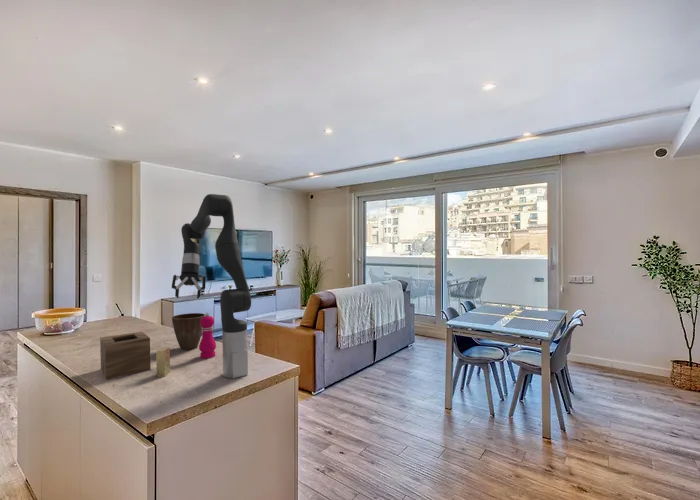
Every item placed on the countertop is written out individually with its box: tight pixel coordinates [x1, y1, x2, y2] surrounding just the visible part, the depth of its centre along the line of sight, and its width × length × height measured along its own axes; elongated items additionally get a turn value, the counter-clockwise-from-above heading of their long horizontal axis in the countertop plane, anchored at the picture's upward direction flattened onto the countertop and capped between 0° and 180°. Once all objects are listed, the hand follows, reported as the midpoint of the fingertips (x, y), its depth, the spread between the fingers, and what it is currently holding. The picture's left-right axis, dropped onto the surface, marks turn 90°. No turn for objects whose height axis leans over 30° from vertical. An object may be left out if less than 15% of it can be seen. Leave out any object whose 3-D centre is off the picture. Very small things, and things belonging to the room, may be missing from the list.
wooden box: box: [99, 331, 152, 380], centre depth 142 cm, size 15×15×13 cm
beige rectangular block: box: [155, 346, 171, 378], centre depth 136 cm, size 5×3×10 cm, turn 7°
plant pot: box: [171, 312, 206, 351], centre depth 172 cm, size 15×15×16 cm
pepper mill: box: [198, 312, 217, 359], centre depth 158 cm, size 7×7×20 cm
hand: (187, 298), depth 160 cm, fingers open, 8 cm apart
